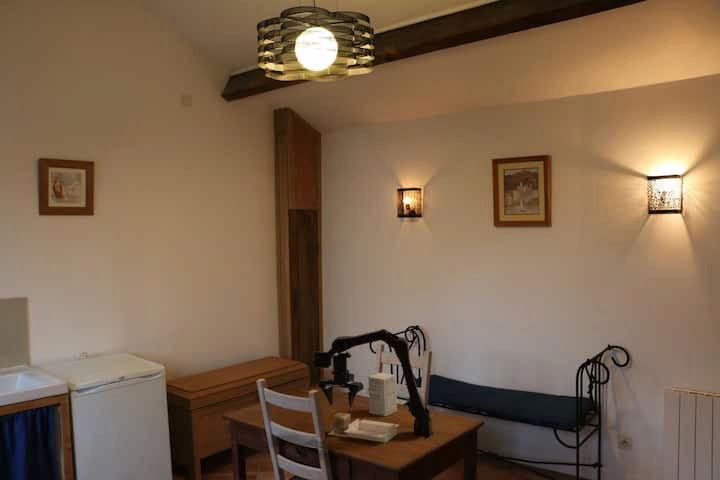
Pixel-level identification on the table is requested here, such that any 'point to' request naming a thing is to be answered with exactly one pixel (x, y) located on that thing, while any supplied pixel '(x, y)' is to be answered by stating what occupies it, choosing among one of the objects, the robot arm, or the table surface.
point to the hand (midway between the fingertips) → (341, 405)
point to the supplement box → (382, 394)
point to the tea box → (341, 423)
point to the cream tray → (372, 430)
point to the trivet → (337, 434)
